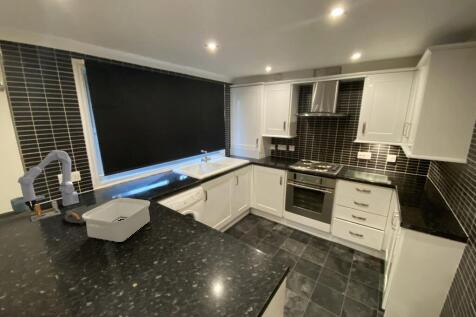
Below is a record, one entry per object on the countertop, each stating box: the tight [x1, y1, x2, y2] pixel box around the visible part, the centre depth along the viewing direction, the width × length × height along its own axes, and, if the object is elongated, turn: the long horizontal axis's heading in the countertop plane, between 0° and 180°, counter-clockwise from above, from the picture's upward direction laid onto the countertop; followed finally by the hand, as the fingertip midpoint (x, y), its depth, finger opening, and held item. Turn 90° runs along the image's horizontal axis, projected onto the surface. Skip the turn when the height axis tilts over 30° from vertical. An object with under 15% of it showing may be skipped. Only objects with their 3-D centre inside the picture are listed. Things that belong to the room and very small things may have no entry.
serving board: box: [64, 196, 122, 226], centre depth 142 cm, size 39×23×6 cm, turn 153°
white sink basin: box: [82, 197, 151, 243], centre depth 118 cm, size 34×29×15 cm
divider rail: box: [30, 200, 59, 217], centre depth 138 cm, size 14×11×6 cm
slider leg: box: [34, 204, 43, 216], centre depth 136 cm, size 2×11×6 cm, turn 49°
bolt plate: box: [30, 209, 62, 222], centre depth 136 cm, size 14×8×1 cm, turn 139°
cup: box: [10, 196, 29, 213], centre depth 141 cm, size 8×8×10 cm
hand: (32, 210), depth 136 cm, fingers closed
